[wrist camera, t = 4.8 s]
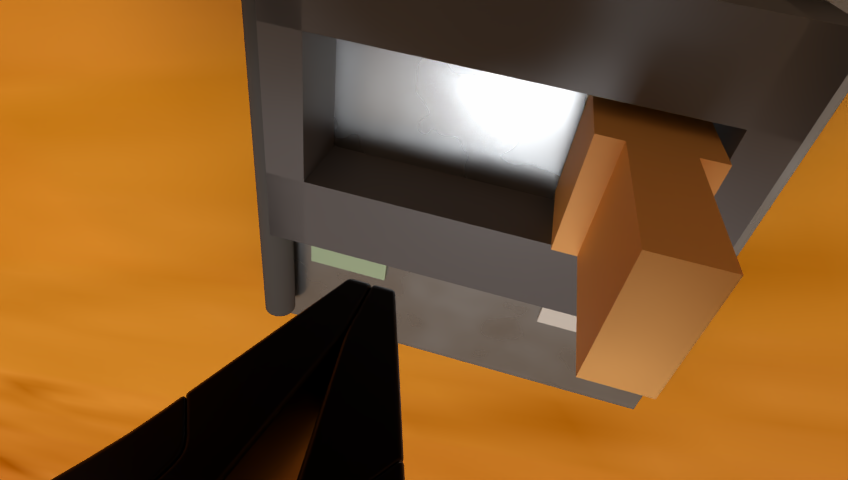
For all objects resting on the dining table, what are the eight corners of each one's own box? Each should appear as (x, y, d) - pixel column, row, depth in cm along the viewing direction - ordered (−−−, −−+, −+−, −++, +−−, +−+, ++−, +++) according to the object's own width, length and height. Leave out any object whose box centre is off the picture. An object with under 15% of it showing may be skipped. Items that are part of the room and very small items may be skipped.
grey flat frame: (1090, -379, 8) (1154, -407, 7) (618, 387, 21) (619, 413, 20) (224, -481, 10) (186, -515, 9) (273, 292, 22) (260, 311, 22)
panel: (1135, -402, 9) (1200, -430, 8) (631, 385, 22) (633, 409, 22) (243, -502, 10) (210, -537, 9) (282, 289, 24) (270, 307, 23)
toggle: (706, 110, 14) (789, 286, 8) (653, 214, 16) (691, 409, 10) (592, 85, 14) (598, 238, 9) (555, 191, 16) (541, 367, 11)
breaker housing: (829, 2, 12) (875, 31, 10) (630, 342, 19) (635, 395, 18) (295, -102, 13) (248, -94, 11) (301, 254, 21) (273, 294, 19)
